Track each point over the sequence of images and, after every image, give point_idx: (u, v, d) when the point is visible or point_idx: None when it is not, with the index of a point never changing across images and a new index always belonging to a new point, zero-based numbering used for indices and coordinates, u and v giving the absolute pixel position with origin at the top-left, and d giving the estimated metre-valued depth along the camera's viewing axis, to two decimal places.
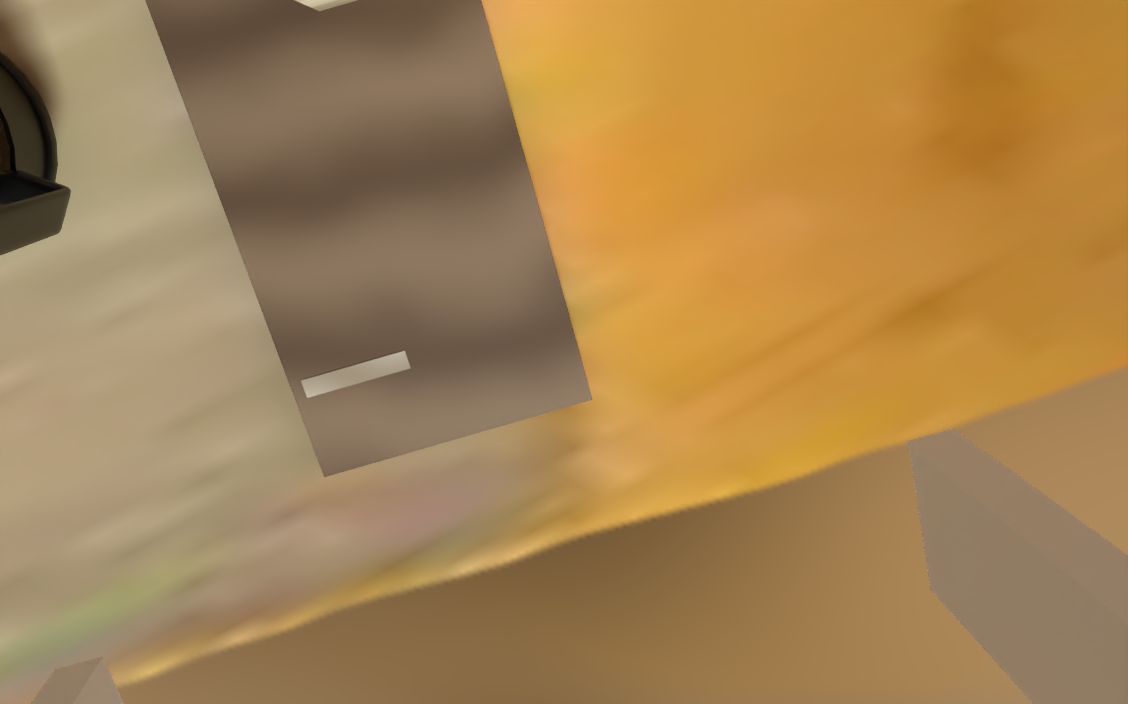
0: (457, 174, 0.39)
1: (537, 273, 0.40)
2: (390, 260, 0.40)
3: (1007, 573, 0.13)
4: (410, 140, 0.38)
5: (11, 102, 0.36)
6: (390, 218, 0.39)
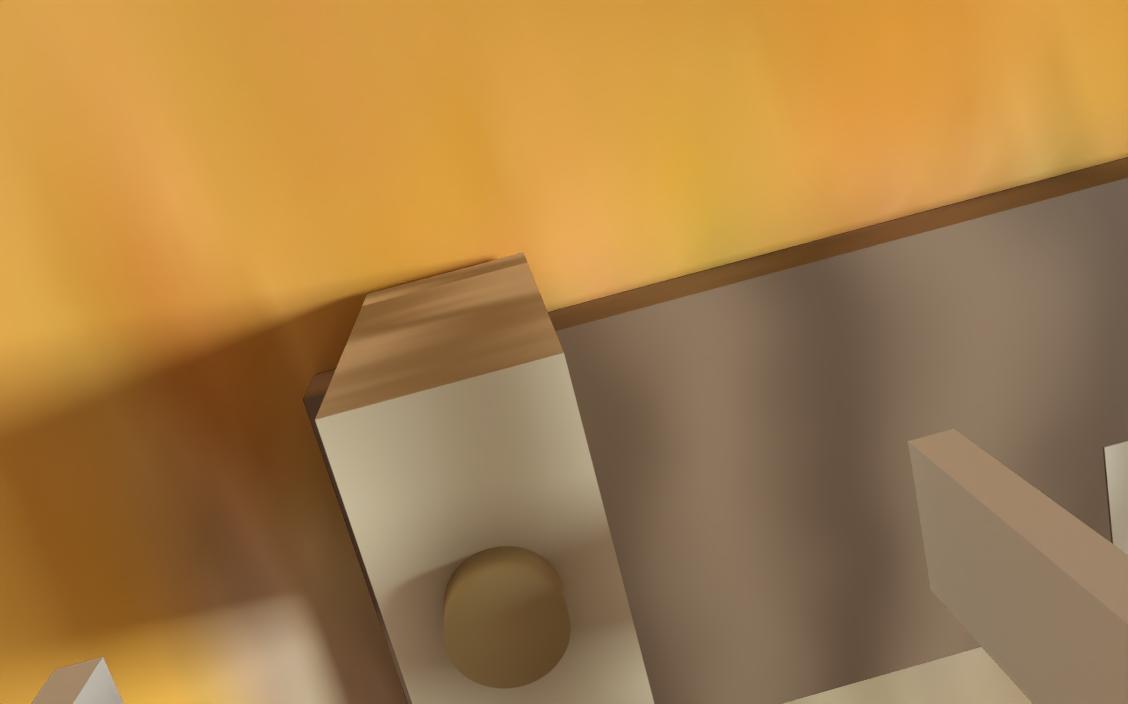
0: (851, 362, 0.24)
1: (1022, 237, 0.24)
2: None
3: (1008, 572, 0.13)
4: (793, 430, 0.25)
5: None
6: (903, 462, 0.25)
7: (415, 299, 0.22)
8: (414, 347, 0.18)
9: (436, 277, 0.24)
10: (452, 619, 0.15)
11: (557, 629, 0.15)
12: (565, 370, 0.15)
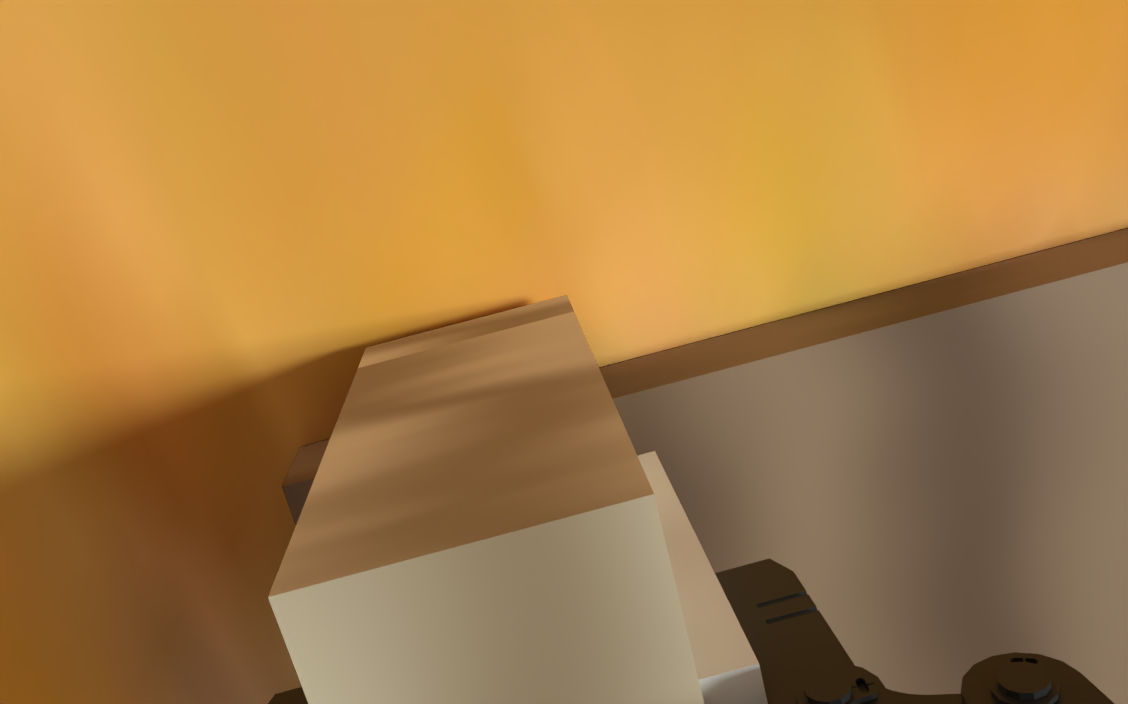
0: (990, 437, 0.19)
1: None
2: None
3: None
4: (912, 523, 0.19)
5: None
6: (1051, 563, 0.20)
7: (427, 362, 0.17)
8: (424, 453, 0.12)
9: (454, 327, 0.19)
10: None
11: None
12: (655, 520, 0.10)
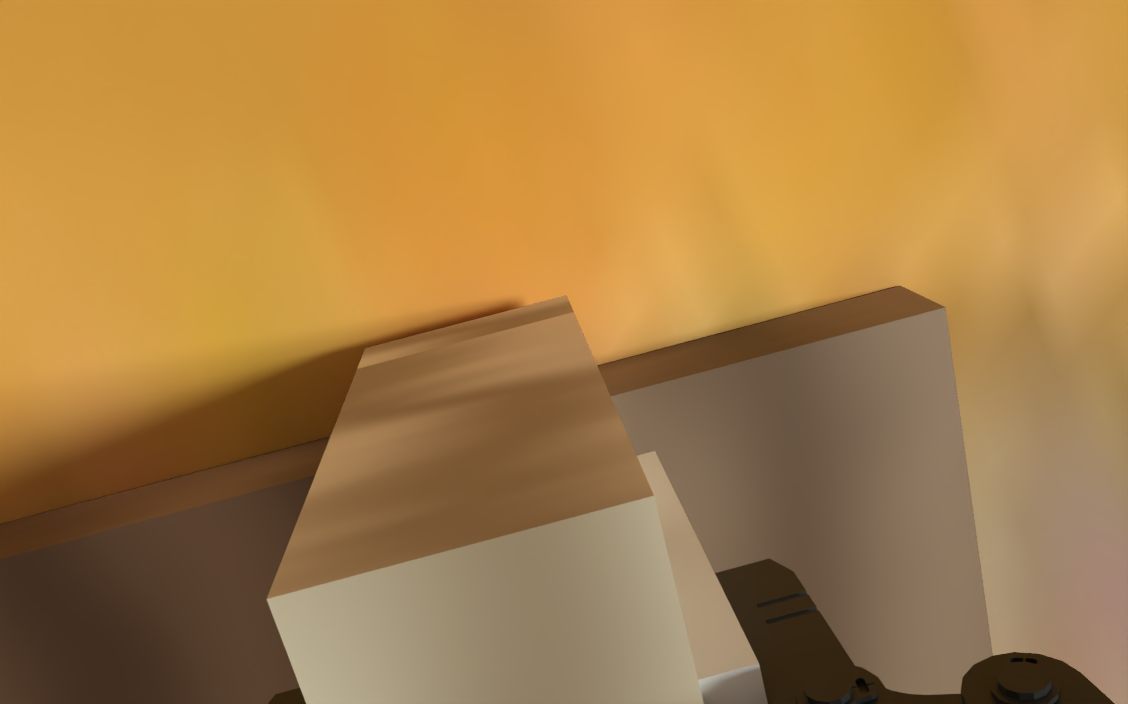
0: None
1: (647, 427, 0.18)
2: None
3: None
4: None
5: None
6: None
7: (426, 363, 0.17)
8: (424, 454, 0.12)
9: (454, 327, 0.18)
10: None
11: None
12: (655, 521, 0.10)
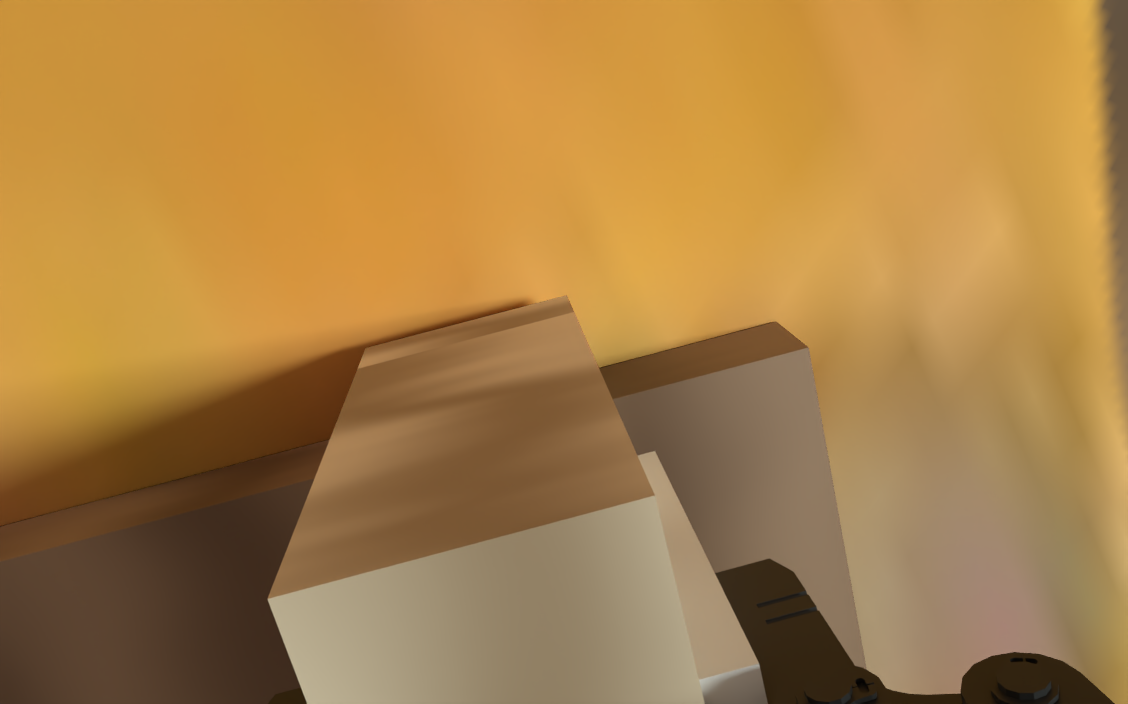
0: None
1: None
2: None
3: None
4: None
5: None
6: None
7: (427, 363, 0.17)
8: (424, 454, 0.12)
9: (454, 327, 0.18)
10: None
11: None
12: (656, 521, 0.10)
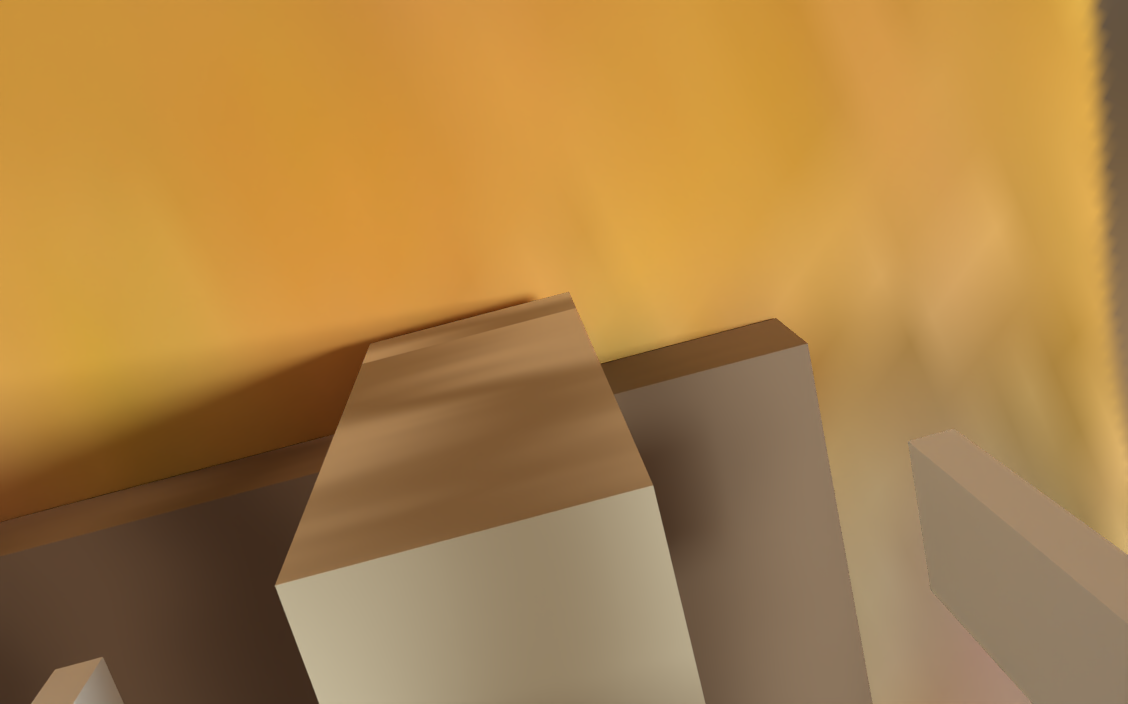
0: None
1: None
2: None
3: (1007, 573, 0.13)
4: (232, 700, 0.19)
5: None
6: None
7: (431, 358, 0.17)
8: (428, 447, 0.13)
9: (458, 323, 0.19)
10: None
11: None
12: (654, 511, 0.10)
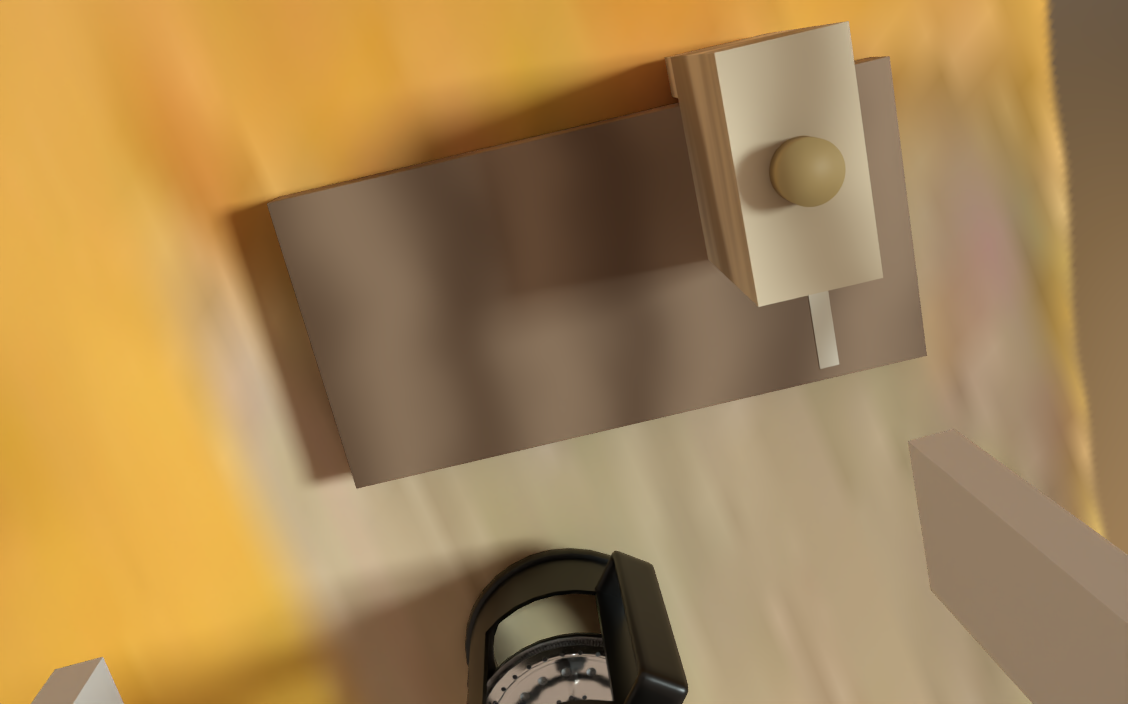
0: (624, 195, 0.37)
1: None
2: (706, 270, 0.38)
3: (1008, 573, 0.13)
4: (587, 240, 0.38)
5: (536, 583, 0.41)
6: (663, 266, 0.38)
7: (709, 48, 0.35)
8: (741, 44, 0.31)
9: None
10: (784, 161, 0.28)
11: (837, 172, 0.28)
12: (848, 31, 0.28)
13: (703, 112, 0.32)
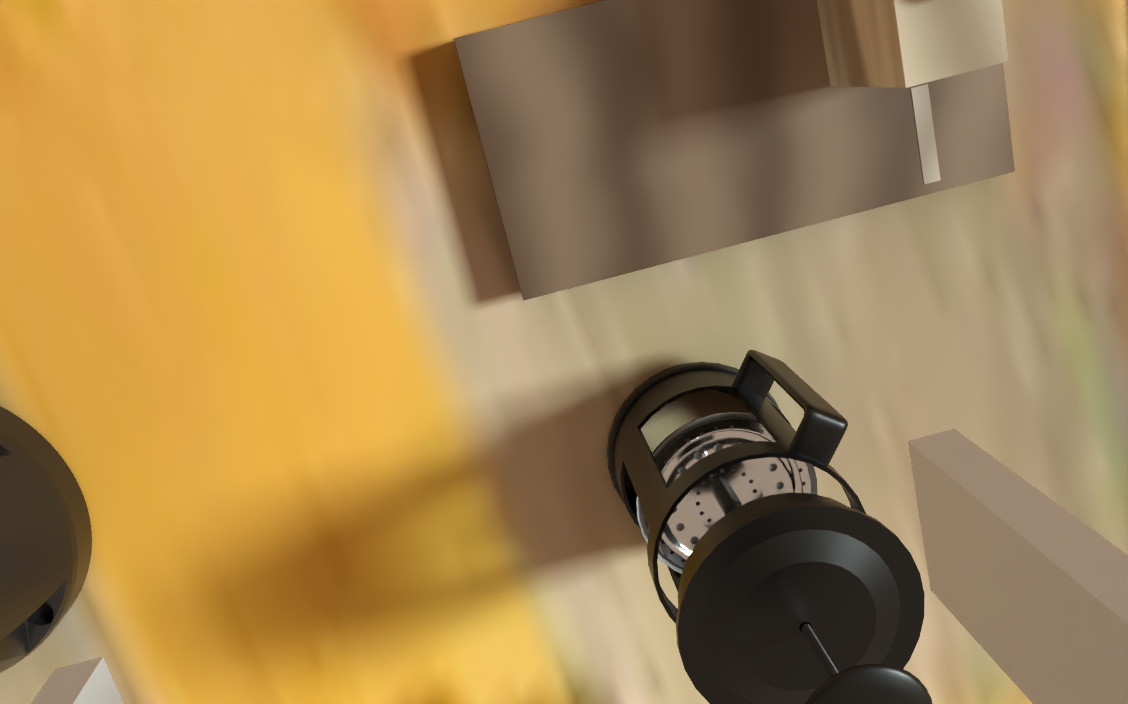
0: (760, 28, 0.43)
1: None
2: (829, 95, 0.44)
3: (1008, 573, 0.13)
4: (727, 69, 0.43)
5: (678, 385, 0.47)
6: (792, 92, 0.44)
7: None
8: None
9: None
10: None
11: None
12: None
13: None
